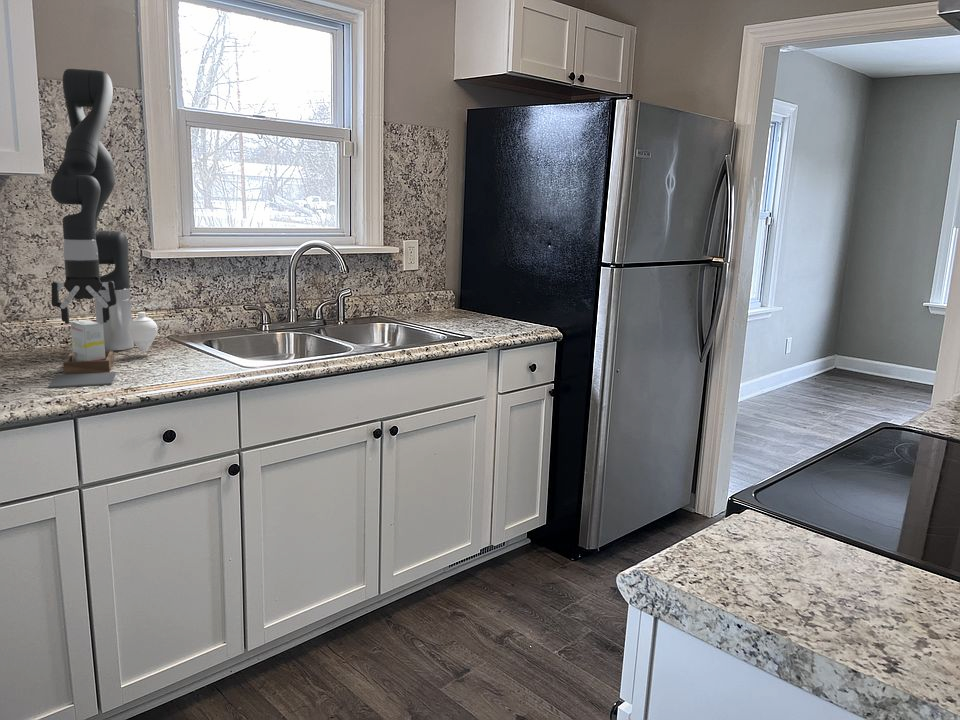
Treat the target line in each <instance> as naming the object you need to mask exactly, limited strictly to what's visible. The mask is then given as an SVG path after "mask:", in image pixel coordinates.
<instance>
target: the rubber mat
mask: <svg viewBox="0 0 960 720" xmlns="http://www.w3.org/2000/svg"><path fill="white" fill-rule="evenodd" d="M116 374H117V373H116V371H110V372H104V373H83V374H64V373H63V374H56V375H55V376H54V378H53V379H52V380H51V381H50V383H49V384H48V386H47V389H58V388H60V387H61V388H73V387H74V388H75V387H76V388H77V387H78V386H79V387H95V386H111V385H112V384H113V382H114V379H115V376H116Z"/></svg>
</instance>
